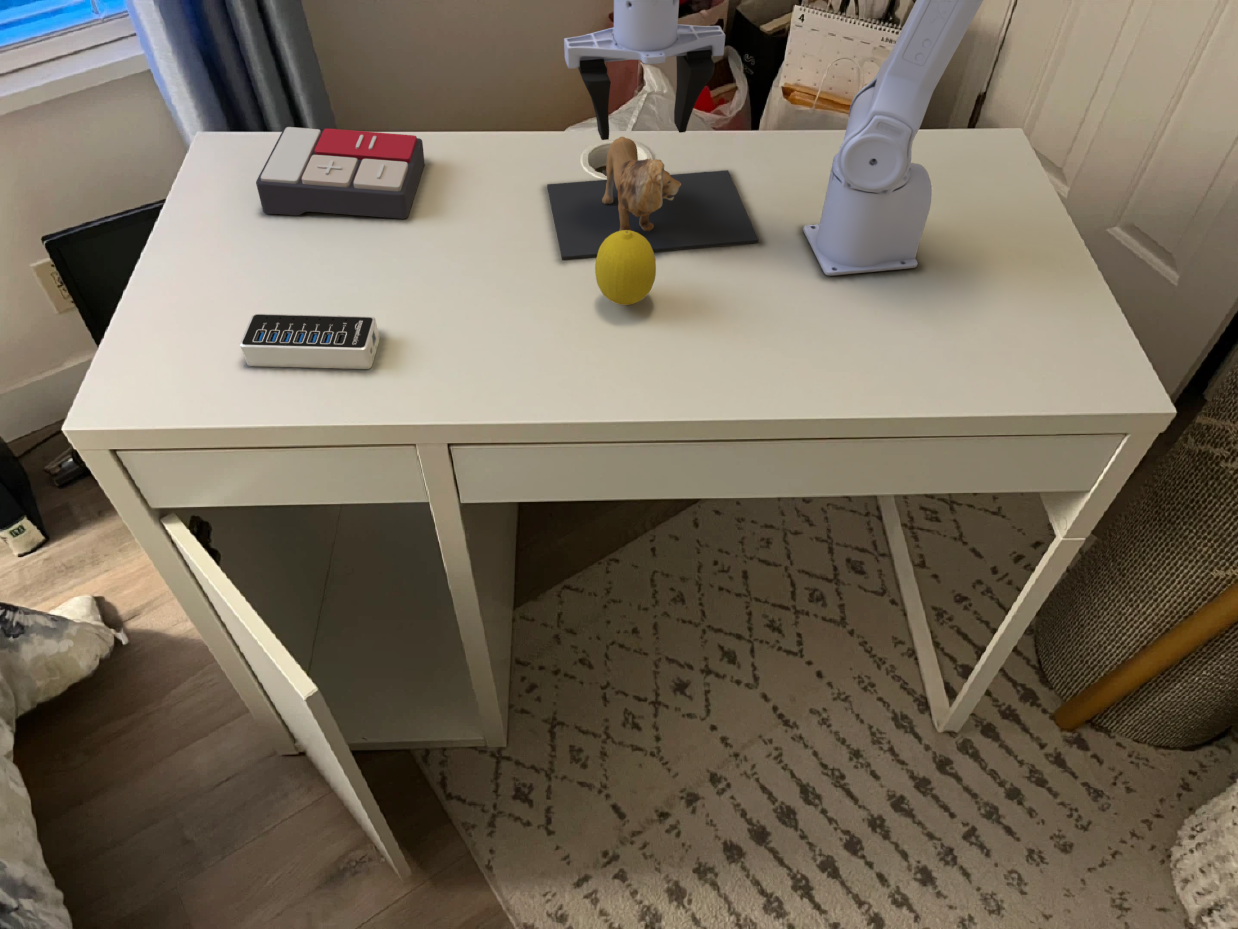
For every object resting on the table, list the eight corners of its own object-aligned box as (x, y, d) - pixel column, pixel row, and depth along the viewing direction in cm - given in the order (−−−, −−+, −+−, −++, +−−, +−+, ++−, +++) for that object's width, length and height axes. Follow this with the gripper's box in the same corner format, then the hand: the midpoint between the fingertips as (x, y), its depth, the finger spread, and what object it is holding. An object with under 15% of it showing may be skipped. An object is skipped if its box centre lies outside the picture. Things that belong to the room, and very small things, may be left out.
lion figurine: (681, 247, 94) (687, 167, 87) (632, 259, 92) (635, 178, 86) (624, 172, 103) (626, 93, 96) (579, 182, 101) (577, 102, 94)
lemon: (648, 326, 86) (651, 254, 80) (589, 317, 87) (588, 245, 81) (658, 289, 90) (662, 217, 84) (602, 281, 91) (602, 210, 85)
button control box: (403, 188, 94) (252, 176, 94) (407, 224, 97) (261, 213, 97) (422, 131, 101) (282, 120, 101) (425, 166, 105) (290, 156, 104)
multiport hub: (259, 332, 85) (252, 312, 83) (380, 335, 85) (376, 316, 83) (245, 365, 82) (238, 346, 80) (371, 369, 82) (366, 349, 80)
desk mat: (727, 173, 104) (728, 169, 103) (758, 242, 95) (758, 239, 95) (547, 187, 101) (547, 183, 101) (562, 260, 93) (562, 256, 93)
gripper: (572, 11, 78) (575, 159, 88) (740, -2, 80) (724, 144, 90) (558, -24, 82) (563, 121, 92) (718, -35, 84) (705, 108, 95)
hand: (641, 130), depth 92 cm, fingers open, 7 cm apart
